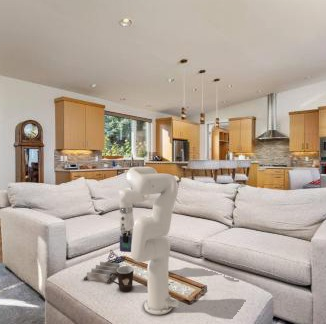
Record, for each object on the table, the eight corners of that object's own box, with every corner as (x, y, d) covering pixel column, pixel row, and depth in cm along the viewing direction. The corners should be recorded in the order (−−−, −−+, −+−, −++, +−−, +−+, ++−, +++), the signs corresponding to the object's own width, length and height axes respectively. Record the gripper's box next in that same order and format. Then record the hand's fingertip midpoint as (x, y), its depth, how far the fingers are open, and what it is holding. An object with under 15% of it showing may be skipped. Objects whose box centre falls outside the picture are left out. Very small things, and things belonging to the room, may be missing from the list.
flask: (135, 250, 148) (135, 232, 148) (134, 252, 145) (133, 233, 145) (120, 249, 150) (120, 231, 150) (118, 251, 147) (118, 233, 147)
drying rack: (122, 270, 152) (122, 263, 152) (108, 283, 136) (108, 276, 136) (99, 267, 157) (99, 260, 157) (84, 280, 141) (83, 272, 141)
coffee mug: (136, 285, 133) (136, 266, 133) (130, 294, 125) (130, 274, 125) (115, 283, 136) (115, 264, 136) (108, 291, 128) (108, 271, 128)
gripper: (126, 213, 138) (127, 247, 139) (137, 207, 154) (138, 237, 154) (113, 212, 140) (114, 246, 141) (125, 207, 156) (126, 236, 156)
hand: (127, 241), depth 148 cm, fingers closed on flask, 3 cm apart
